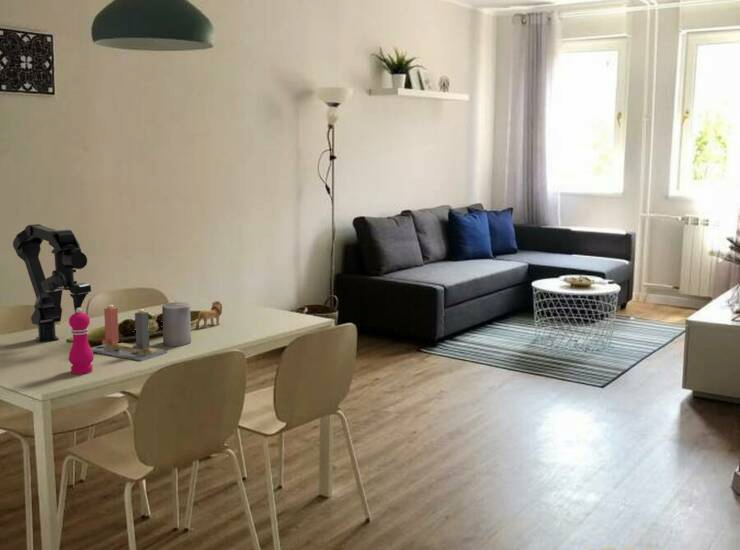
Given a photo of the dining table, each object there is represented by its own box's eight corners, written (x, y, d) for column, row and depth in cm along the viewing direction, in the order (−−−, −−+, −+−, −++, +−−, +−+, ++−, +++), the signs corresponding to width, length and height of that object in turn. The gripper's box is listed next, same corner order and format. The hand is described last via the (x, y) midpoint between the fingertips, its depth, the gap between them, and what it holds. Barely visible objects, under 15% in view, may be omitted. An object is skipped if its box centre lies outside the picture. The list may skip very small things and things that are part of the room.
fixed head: (131, 352, 268) (129, 311, 265) (142, 348, 272) (141, 308, 270) (137, 353, 266) (136, 312, 264) (149, 349, 271) (147, 309, 269)
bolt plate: (88, 351, 273) (88, 345, 273) (115, 344, 283) (114, 338, 283) (141, 360, 262) (140, 354, 261) (167, 352, 272) (166, 347, 272)
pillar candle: (163, 340, 290) (162, 299, 287) (191, 338, 292) (190, 298, 289) (162, 347, 280) (161, 304, 278) (191, 345, 282) (190, 303, 280)
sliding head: (100, 347, 274) (98, 306, 272) (112, 343, 279) (110, 304, 277) (106, 348, 273) (105, 307, 271) (118, 344, 277) (117, 305, 275)
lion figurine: (214, 321, 320) (214, 299, 319) (226, 323, 318) (225, 300, 317) (192, 329, 307) (191, 306, 306) (203, 330, 305) (203, 307, 304)
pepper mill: (64, 372, 248) (60, 308, 245) (83, 367, 254) (80, 304, 251) (80, 376, 244) (76, 311, 241) (99, 370, 250) (96, 307, 247)
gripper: (25, 268, 274) (29, 314, 276) (64, 271, 265) (67, 318, 267) (52, 264, 283) (55, 308, 285) (90, 267, 274) (93, 312, 277)
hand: (67, 311), depth 278 cm, fingers open, 9 cm apart
